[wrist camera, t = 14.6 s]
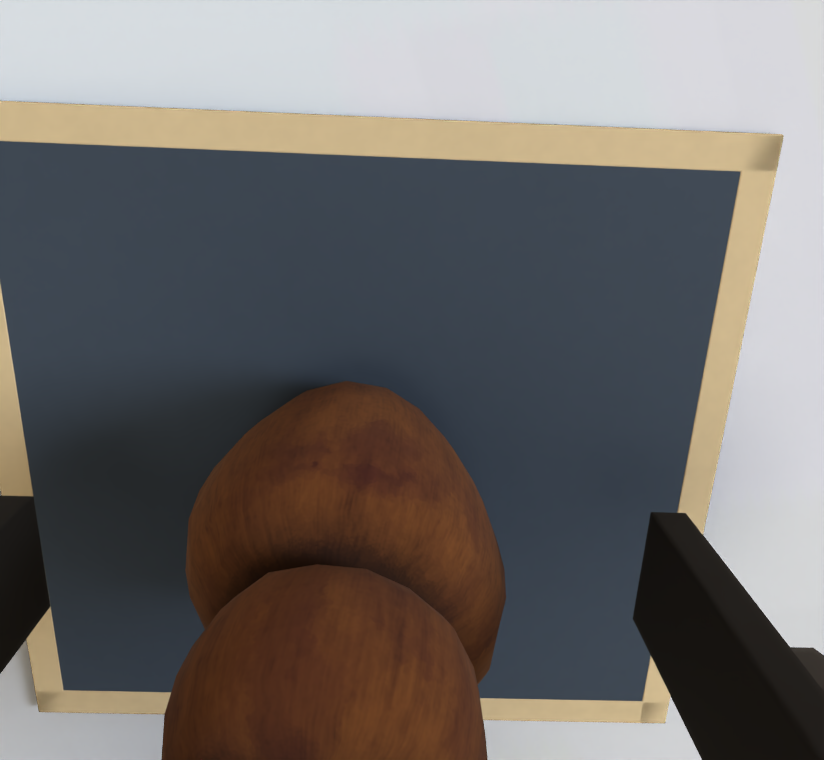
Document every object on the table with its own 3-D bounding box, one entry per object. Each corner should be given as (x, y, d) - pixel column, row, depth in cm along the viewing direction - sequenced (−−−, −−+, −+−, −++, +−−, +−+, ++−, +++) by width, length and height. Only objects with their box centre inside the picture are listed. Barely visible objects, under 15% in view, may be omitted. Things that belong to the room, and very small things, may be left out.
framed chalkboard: (44, 702, 22) (38, 712, 22) (-57, 98, 16) (-68, 98, 16) (660, 714, 23) (665, 723, 22) (776, 134, 17) (784, 134, 17)
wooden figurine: (515, 498, 20) (809, 1417, 6) (350, 597, 21) (243, 1589, 7) (376, 306, 18) (286, 948, 4) (202, 425, 19) (-398, 1295, 5)
